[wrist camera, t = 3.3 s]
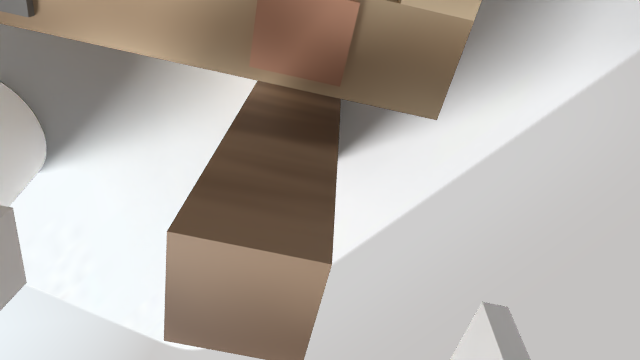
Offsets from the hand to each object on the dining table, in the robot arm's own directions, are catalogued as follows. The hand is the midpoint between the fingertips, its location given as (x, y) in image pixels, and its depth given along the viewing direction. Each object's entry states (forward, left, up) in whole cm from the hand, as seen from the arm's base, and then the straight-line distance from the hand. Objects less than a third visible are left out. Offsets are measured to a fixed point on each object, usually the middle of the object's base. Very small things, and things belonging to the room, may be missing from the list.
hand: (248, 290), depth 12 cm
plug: (0, 0, -11) cm, 11 cm away
